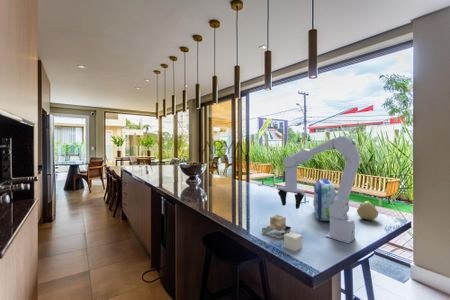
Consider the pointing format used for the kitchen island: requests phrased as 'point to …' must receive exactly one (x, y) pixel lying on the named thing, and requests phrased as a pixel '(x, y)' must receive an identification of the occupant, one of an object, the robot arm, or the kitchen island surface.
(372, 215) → the tan lumpy ball
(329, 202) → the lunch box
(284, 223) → the oak cube
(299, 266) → the kitchen island surface
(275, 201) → the kitchen island surface
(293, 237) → the cream cube
